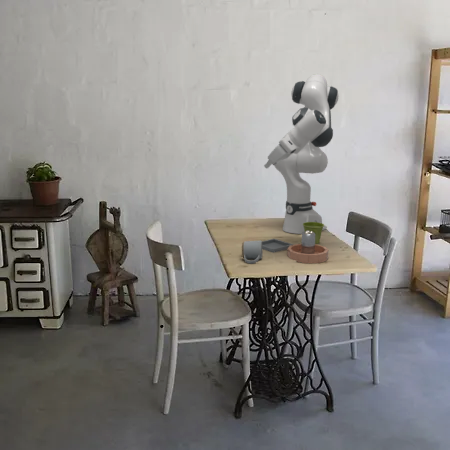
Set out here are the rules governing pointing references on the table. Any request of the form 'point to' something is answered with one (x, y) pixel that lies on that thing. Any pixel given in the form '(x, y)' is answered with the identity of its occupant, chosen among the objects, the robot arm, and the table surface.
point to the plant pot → (314, 229)
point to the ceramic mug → (252, 251)
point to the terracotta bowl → (318, 257)
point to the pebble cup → (308, 242)
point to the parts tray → (275, 245)
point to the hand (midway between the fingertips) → (269, 165)
